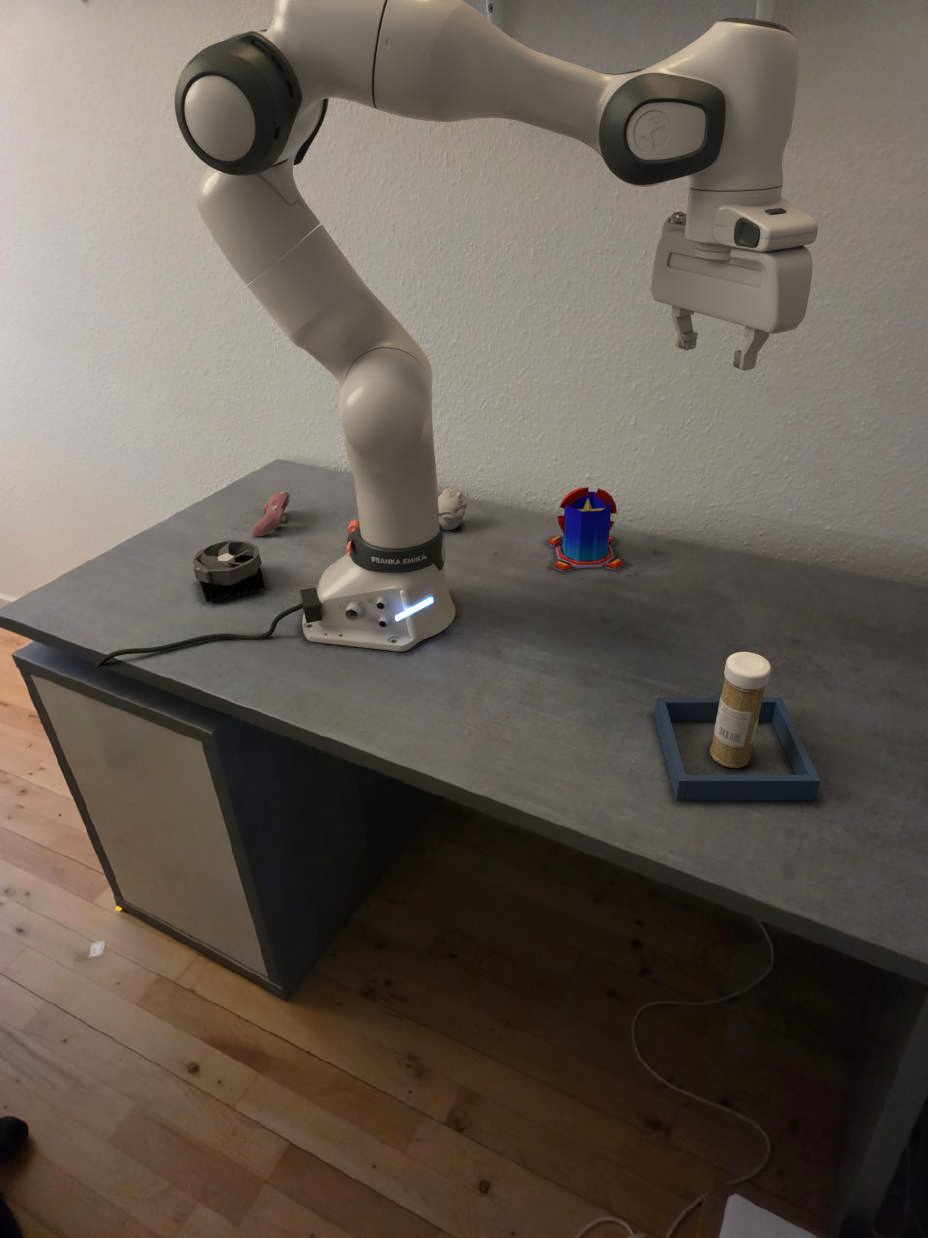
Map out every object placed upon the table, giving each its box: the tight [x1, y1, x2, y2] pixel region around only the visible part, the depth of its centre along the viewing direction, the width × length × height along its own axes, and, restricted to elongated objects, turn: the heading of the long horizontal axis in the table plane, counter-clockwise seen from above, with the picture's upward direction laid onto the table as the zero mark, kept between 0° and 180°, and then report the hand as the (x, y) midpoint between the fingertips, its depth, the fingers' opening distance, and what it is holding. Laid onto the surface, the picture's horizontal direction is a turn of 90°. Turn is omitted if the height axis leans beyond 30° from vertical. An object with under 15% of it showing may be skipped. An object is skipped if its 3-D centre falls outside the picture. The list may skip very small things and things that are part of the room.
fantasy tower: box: [546, 486, 626, 574], centre depth 128 cm, size 12×12×12 cm
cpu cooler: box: [192, 539, 266, 604], centre depth 125 cm, size 10×6×10 cm
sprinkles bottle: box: [709, 651, 772, 769], centre depth 87 cm, size 5×5×13 cm
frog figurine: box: [438, 488, 468, 531], centre depth 139 cm, size 6×7×7 cm
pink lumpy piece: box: [251, 490, 291, 537], centre depth 142 cm, size 10×5×7 cm, turn 179°
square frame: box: [654, 696, 821, 801], centre depth 90 cm, size 15×14×3 cm
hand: (713, 357), depth 87 cm, fingers open, 8 cm apart
